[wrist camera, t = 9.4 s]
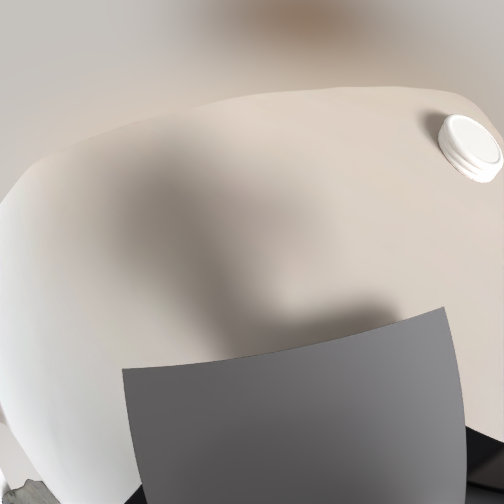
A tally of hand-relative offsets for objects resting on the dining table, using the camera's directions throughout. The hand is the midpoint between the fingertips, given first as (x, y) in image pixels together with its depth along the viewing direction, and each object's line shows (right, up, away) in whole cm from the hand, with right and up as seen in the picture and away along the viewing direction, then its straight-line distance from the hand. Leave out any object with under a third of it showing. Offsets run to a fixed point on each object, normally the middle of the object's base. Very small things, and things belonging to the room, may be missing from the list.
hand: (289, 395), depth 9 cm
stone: (+1, -4, +5) cm, 7 cm away
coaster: (+28, +18, +20) cm, 39 cm away
